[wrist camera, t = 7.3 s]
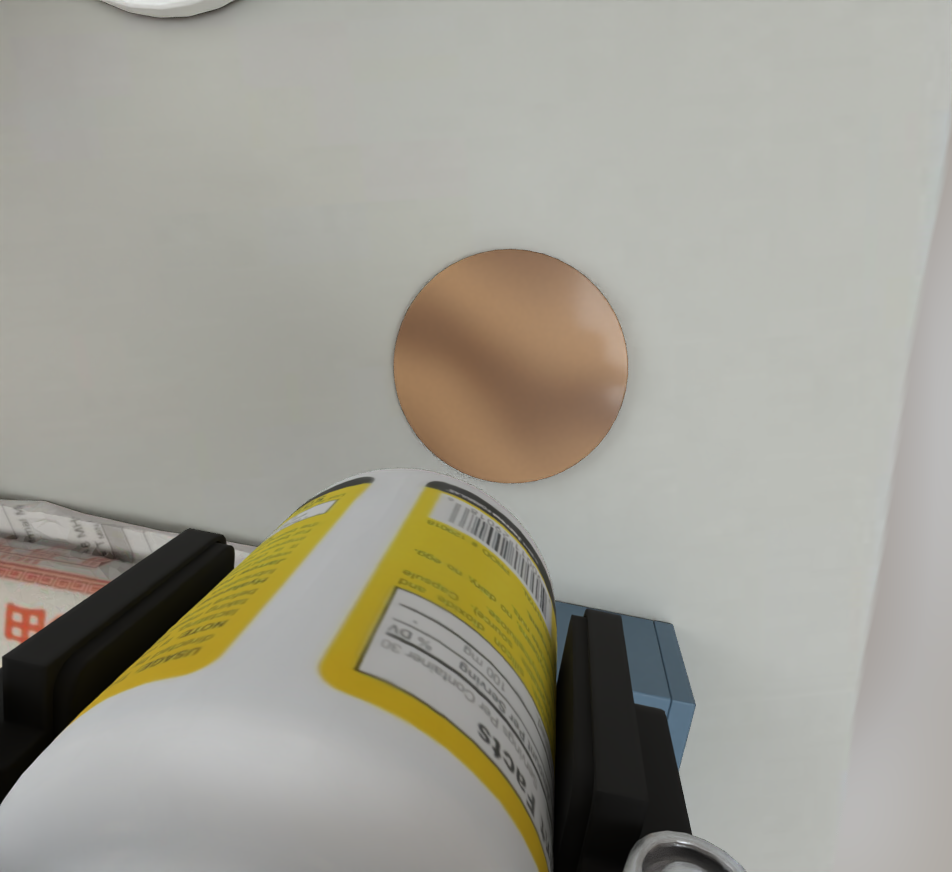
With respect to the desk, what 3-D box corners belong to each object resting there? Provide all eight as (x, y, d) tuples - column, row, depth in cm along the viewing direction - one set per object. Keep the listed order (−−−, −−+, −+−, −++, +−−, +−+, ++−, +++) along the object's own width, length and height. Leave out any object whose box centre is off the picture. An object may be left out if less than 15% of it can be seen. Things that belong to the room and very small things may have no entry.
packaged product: (-188, 725, 29) (-213, 506, 27) (-84, 663, 34) (-96, 472, 32) (210, 818, 28) (223, 593, 25) (262, 740, 32) (277, 543, 30)
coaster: (410, 233, 26) (408, 232, 26) (649, 268, 25) (650, 268, 25) (383, 459, 28) (381, 461, 28) (602, 499, 27) (603, 502, 27)
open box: (330, 555, 30) (278, 617, 24) (673, 623, 28) (696, 704, 23) (304, 816, 33) (252, 920, 28) (609, 889, 32) (616, 1013, 26)
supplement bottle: (275, 705, 14) (-348, 1639, 4) (276, 446, 13) (-617, 997, 3) (545, 746, 13) (486, 1926, 4) (575, 479, 12) (605, 1282, 3)
